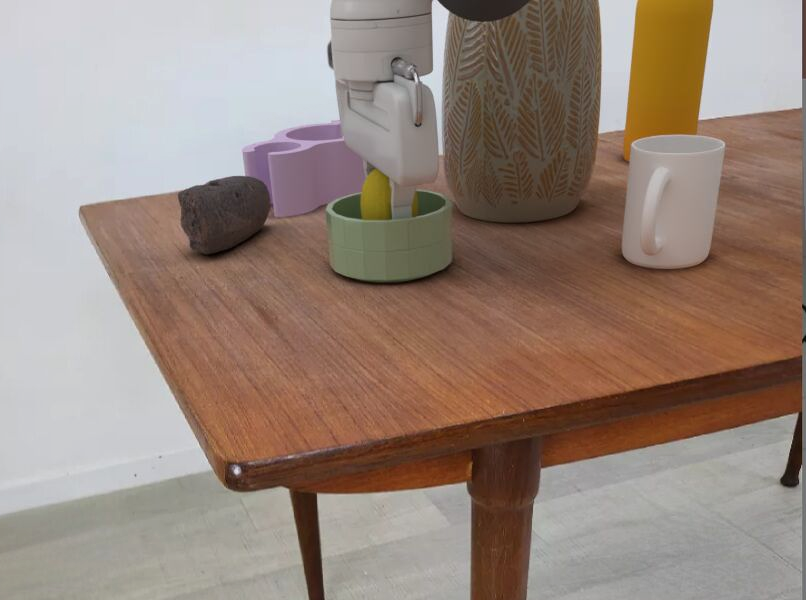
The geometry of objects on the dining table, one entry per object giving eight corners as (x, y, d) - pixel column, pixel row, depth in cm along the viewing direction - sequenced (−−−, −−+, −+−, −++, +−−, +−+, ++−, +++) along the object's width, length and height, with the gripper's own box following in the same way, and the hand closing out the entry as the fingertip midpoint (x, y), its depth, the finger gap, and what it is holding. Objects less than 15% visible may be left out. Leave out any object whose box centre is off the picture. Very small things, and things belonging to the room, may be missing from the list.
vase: (449, 233, 102) (447, -66, 87) (436, 194, 116) (432, -69, 101) (608, 223, 102) (634, -77, 87) (575, 185, 116) (593, -79, 101)
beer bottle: (607, 160, 126) (628, -105, 110) (652, 148, 131) (679, -108, 114) (662, 170, 120) (694, -109, 104) (708, 158, 124) (745, -112, 108)
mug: (683, 287, 84) (700, 165, 78) (595, 276, 88) (604, 159, 82) (718, 249, 93) (735, 136, 87) (636, 241, 96) (647, 132, 90)
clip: (304, 221, 109) (298, 157, 105) (225, 209, 115) (217, 149, 111) (402, 182, 122) (400, 124, 118) (326, 174, 128) (322, 118, 124)
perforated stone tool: (253, 222, 110) (245, 159, 106) (291, 227, 107) (284, 162, 103) (170, 260, 99) (158, 191, 95) (210, 266, 97) (200, 195, 93)
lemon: (375, 238, 95) (370, 154, 91) (427, 241, 94) (425, 155, 89) (354, 254, 91) (348, 167, 87) (408, 258, 89) (404, 169, 85)
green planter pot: (429, 242, 100) (428, 183, 96) (469, 276, 90) (470, 211, 86) (319, 257, 97) (313, 197, 94) (348, 294, 88) (343, 228, 84)
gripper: (456, 62, 75) (457, 238, 83) (385, 39, 92) (391, 188, 99) (381, 70, 74) (389, 248, 82) (322, 45, 90) (333, 195, 98)
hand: (390, 214), depth 91 cm, fingers closed on lemon, 5 cm apart
